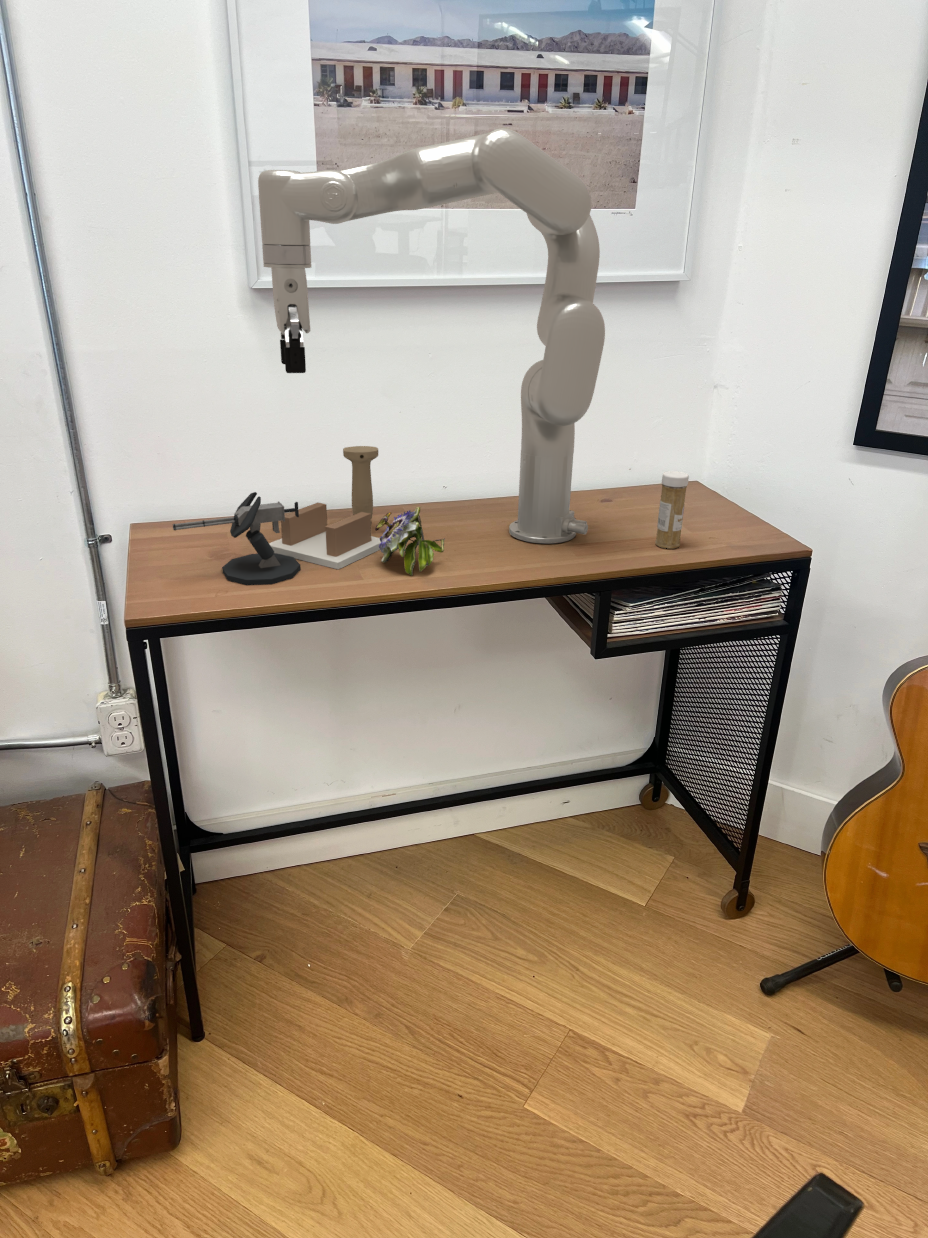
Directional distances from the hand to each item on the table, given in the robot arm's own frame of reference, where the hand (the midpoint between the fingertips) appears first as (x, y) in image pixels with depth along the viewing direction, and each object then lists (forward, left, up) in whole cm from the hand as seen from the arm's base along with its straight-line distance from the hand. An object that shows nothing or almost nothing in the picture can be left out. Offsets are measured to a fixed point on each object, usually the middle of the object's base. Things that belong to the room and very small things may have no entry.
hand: (293, 368), depth 146 cm
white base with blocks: (-6, +1, -30) cm, 31 cm away
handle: (-4, -12, -31) cm, 33 cm away
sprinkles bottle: (-56, -35, -31) cm, 73 cm away
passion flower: (-22, -1, -31) cm, 38 cm away
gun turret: (-3, +18, -31) cm, 36 cm away
